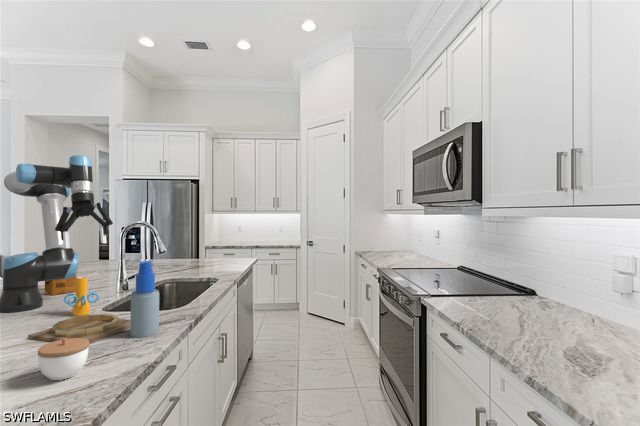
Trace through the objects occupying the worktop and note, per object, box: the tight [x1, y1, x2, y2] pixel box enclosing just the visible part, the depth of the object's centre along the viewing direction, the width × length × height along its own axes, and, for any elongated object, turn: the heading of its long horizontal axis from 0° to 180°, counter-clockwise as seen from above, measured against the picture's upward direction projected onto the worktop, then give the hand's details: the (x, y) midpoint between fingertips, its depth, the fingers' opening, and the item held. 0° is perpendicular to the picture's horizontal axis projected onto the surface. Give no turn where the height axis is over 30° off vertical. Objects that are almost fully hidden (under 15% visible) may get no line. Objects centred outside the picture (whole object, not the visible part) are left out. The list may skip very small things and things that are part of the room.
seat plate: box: [27, 318, 131, 345], centre depth 124 cm, size 23×23×1 cm
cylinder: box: [63, 276, 100, 317], centre depth 144 cm, size 12×10×15 cm
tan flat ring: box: [52, 313, 120, 337], centre depth 124 cm, size 19×19×2 cm
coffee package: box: [44, 249, 77, 296], centre depth 180 cm, size 10×12×22 cm
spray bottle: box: [129, 260, 160, 339], centre depth 122 cm, size 9×9×25 cm
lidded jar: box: [37, 338, 90, 381], centre depth 90 cm, size 11×11×9 cm
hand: (85, 245), depth 138 cm, fingers open, 13 cm apart
